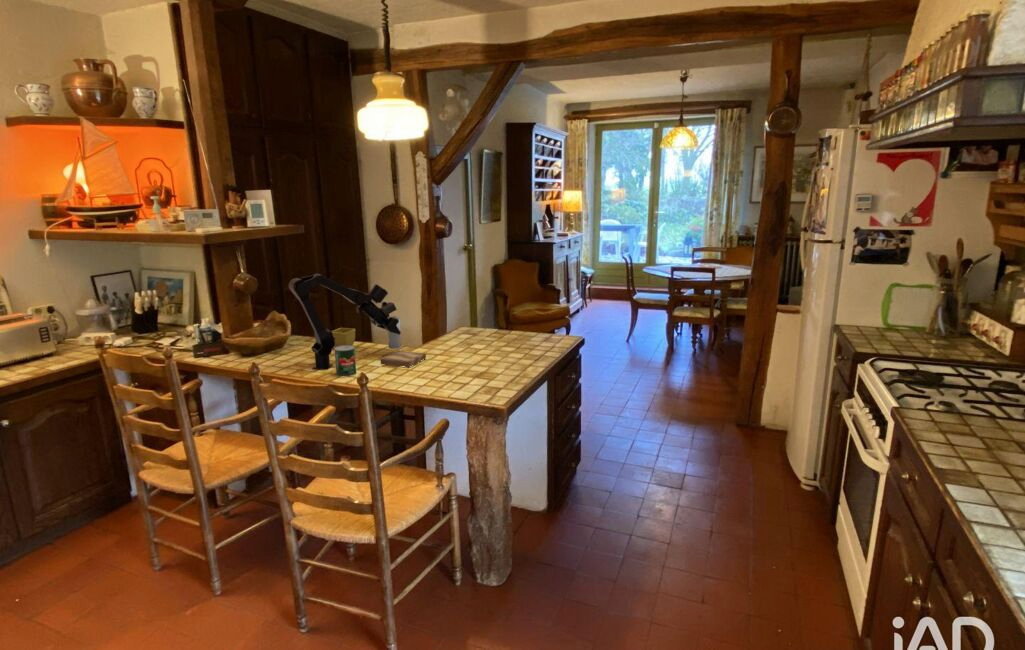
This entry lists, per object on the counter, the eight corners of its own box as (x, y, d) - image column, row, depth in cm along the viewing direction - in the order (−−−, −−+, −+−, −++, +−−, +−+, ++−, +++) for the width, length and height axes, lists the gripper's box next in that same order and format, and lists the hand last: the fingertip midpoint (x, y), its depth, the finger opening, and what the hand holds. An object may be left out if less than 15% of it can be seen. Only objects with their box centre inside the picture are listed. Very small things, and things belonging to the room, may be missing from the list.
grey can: (399, 348, 256) (398, 318, 253) (387, 348, 256) (385, 318, 253) (402, 345, 261) (401, 316, 258) (390, 345, 262) (389, 316, 259)
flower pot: (346, 351, 264) (345, 333, 262) (330, 350, 266) (329, 331, 264) (357, 347, 272) (356, 328, 270) (341, 345, 275) (340, 327, 273)
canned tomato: (346, 378, 226) (344, 351, 224) (331, 375, 230) (329, 348, 227) (360, 372, 233) (358, 346, 230) (346, 369, 236) (344, 344, 234)
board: (409, 368, 238) (409, 362, 238) (380, 364, 243) (380, 358, 243) (426, 359, 251) (425, 353, 251) (398, 356, 256) (398, 350, 256)
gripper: (393, 300, 244) (417, 322, 253) (375, 294, 259) (399, 315, 268) (377, 320, 241) (402, 342, 250) (360, 313, 256) (384, 334, 265)
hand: (397, 332), depth 258 cm, fingers closed on grey can, 6 cm apart
